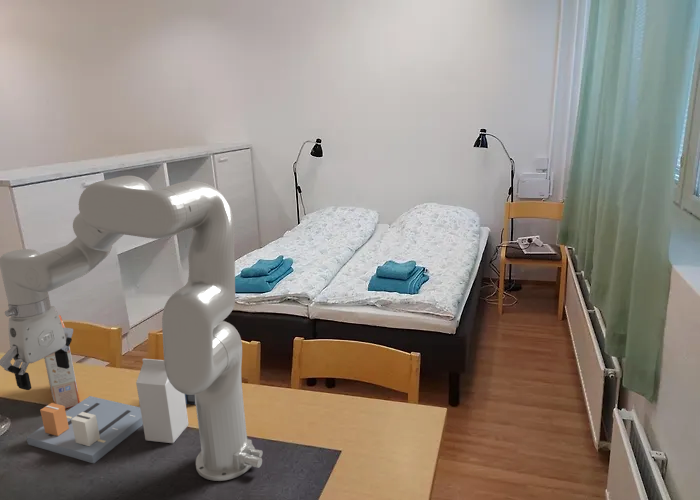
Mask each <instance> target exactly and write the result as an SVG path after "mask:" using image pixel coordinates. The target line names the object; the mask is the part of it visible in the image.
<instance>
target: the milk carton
mask: <svg viewBox="0 0 700 500" xmlns="http://www.w3.org/2000/svg"><path fill="white" fill-rule="evenodd" d="M135 381H136V382H135V384H136V389H137V396H138V401H139V407H140V409H141V415H142V422H143V425H142V426H143V432H144V439H145V441H149V442H160V443H169V444H174V443H175V441H176V440H177V439H178V438H179V437H180V436H181V435H182V433H183V432H184V431H185V430H186V429H187V427H188V426H189V418H188V410H187V404H186V402H185V394H183V393H181V392H179V391H178V390H176V389H175V388H174V387H173V386H172V384H171V383H170V381H169V380H168V377H167V375H166V371H165V365H164V359H152V358H142V365H141V368H140V371H139V373H138V376H137V379H136V380H135Z"/></svg>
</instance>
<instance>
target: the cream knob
mask: <svg viewBox="0 0 700 500" xmlns="http://www.w3.org/2000/svg"><path fill="white" fill-rule="evenodd" d="M71 421H72V426H73V431H74V436H75V441H76V443H79V444H83V445H86V446H91V445H92V444H93V443H95V442H96V441H97V440H99V439H100V435H99V429H98V424H97V419H96V415H93V414H89V413H85V412H81V413H80V414H78V415H77V416H75V417H74V418H72V419H71Z"/></svg>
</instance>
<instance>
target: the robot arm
mask: <svg viewBox="0 0 700 500" xmlns="http://www.w3.org/2000/svg"><path fill="white" fill-rule="evenodd" d="M78 211H79V213H78V214H77V215H76V216H75V217H74V219H73V222H72V229H73V233H74V235H75V236H76V237H75V238H74V239H72V241H70V242H69V243H68V244H66V245H64V246H60V247H58V248H55V249H52V250H49V251H47V252H44V253H41V254H40V252H39V251H37V250H36V249H31V248H29V249H26V248H25V249H24V248H23V249H16V250H11V251H8V252H6V253H4V254H2V255H0V273H1V277H2V281H3V285H4V286H3V287H4V290H5V295H6V299H7V303H8V305H7V307H8V309H7V310H5V311H4V315H5V316H6V317H8V338H9V339H8V340H9V346H10V348H9V350H8V351H6V353H5V354H4V355H3V356H2V357H1V358H0V367H2V368H3V370H5V371H6V372H10V373H11V374H14V376H15V381H16V386H17V387H18V389H21V390H25V391H30V390H31V389H32V383H31V380H30V379H31V378H30V375H29V372H27V369H28V367H29V365H30V364H35V363H36V362H38V361H40V360H42V359H44V357H46V356H48V355H50V354H52V353H54V352H55V358H56V363H57V367H60V368H65V369H68V368H69V360H68V354H67V352H68V351H69V346H71V343H72V337H73V334H74V328H71V327H65V328H64V327H63V326H62V323H61V320H60V318H59V315H60V314H58V311H57V310H56V308H55V306H54V305H51V302H50V301H51V300H50V296H49V292H52V291H53V290H56V289H58V288H61V287H63V286H65V285H66V284H68V283H71V282H74V281H75V280H77V279H79V278H82V277H83V276H85V275H87V274H88V273H90V272H91V271H92V270H93V269H95V268H96V267H97V266H98V265H99V264H100V263H102V262H103V261H104V260H105V259H106V258H107V257H108V256H109V255H110V253H111V250H112V248H113V245H115V243H116V242H117V241H120V239H121V238H122V237H123V236H124V235H126V236H132V237H139V238H145V239H146V238H147V239H154V240H160V239H161V240H162V239H169V238H172V237H175V236H176V235H179V234H181V233H183V232H185V231H187V230H190V229H192V230H191V231H192V235H191V240H190V243H189V247H188V253H187V254H188V255H187V259H188V279H187V282H186V284H185V285H184V286H182V287H181V288H179V289H178V290H176V291H175V292H174V293H172V295H171V296H170V297H169V298H168V299H167V301H166V303H165V304H164V308H163V311H162V317H161V329H162V330H161V331H162V346H163V360H164V365H165V371H166V375H167V377H168V380H169V381H170V383H171V384H172V386H173V387H174V388H175V389H176V390H178V391H179V392H181V393H183V394H187V395H194V394H195V403H196V404H195V409H196V410H195V411H196V417H197V426H198V432H199V440H200V448H201V451H200V452H199V453H198V455H197V456H196V458H195V469H196V473H197V474H198V475H199V476H200V477H202V478H204V479H206V480H208V481H209V480H210V481H213V482H214V481H216V482H217V481H218V482H221V481H228V480H232V479H236V478H238V477H240V476H242V475H244V474H245V473H247V472H248V471H249V470H250V469H251V468H252V467H254V468H259V469H260V467H261V466H262V464H263V459H262V456H263V450H261V449H256V448H255V446H254V445H253V440H252V439H249V438H248V435H247V425H246V424H247V423H246V415H245V405H244V404H245V403H244V393H243V392H244V391H243V383H242V381H243V380H242V363H243V362H242V361H243V342H242V338H241V335H240V333H239V332H238V330H237V329H236V327H235V326H234V325H233V324H231V323H230V322H227V321H225V319H226V318H228V317H229V315H231V313H232V311H234V308H235V306H236V305H235V304H236V263H235V261H236V260H235V238H236V237H235V236H236V235H235V233H236V231H235V230H236V227H235V218H234V214H233V210H232V207H231V206H230V203H229V202H228V200H227V198H226V197H225V195H223V193H222V192H221V191H220V190H218V189H217V188H216V187H215V186H213V185H211V184H209V183H207V182H203V181H199V180H185V181H181V182H177V183H174V184H170V185H168V186H163V187H161V188H158V189H157V188H156V189H154V188H152V186H151V184H150V183H149V182H148V181H147V180H145V179H143V178H141V177H139V176H135V175H121V176H116V177H113V178H107V179H104V180H103V179H102V180H99V181H95V182H93V183H91V184H89V185H88V186H86V188H85V189H83V191H82V192H81V194H80V196H79V199H78ZM12 360H14V362H13V364H12V363H11V361H12Z"/></svg>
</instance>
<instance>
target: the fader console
mask: <svg viewBox="0 0 700 500" xmlns="http://www.w3.org/2000/svg"><path fill="white" fill-rule="evenodd" d="M65 411H66V416H67V421H68V426H69V429H68V430H66V431H65V432H63V433H62V434H60V435H59V436H56V435H52V434H48V433H45V429H44V425H43V426H40V427H39V428H38V429H36V430H35V431H33V432H32V433H29V435H27V436H26V438H25V439H26V442H27V445H28V446H32V447H36V448H39V449H43V450H46V451H50V452H53V453H57V454H60V455H63V456H67V457H70V458H72V459H73V458H74V459H78V460H81V461H84V462H88V463H90V464H96V462H98V461H99V460H100V459H101V458H103V457H104V456H106V454H108V453H109V452H110V451H112V450H113V449H114V448H116V446H118V445H119V444H120V443H121V442H123V441H124V440H125V439H127V438H128V437H129V436H131V435H132V434H133V433H134V432H135V431H137V430H138V429H139V428H141V427H142V426H143V422H142V415H141V409H140V406H137V405H135V406H134V405H131V404H126V403H122V402H118V401H114V400H109V399H106V398H101V397H95V396H92V395H89V396H88V397H86V398H85V399H83V400H81V401H80V403H78V404H77V405H75V406H73V407H70V408H68V410H67V409H66V410H65ZM81 412H85V413H89V414H93V415H96V419H97V424H98V429H99V435H100V439H99V440H97V441H96V442H95V443H93V444H92V445H91V446H86V445H83V444H79V443H76V441H75V436H74V431H73V426H72V421H71V419H72V418H74V417H75V416H77V415H78V414H80V413H81Z"/></svg>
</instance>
